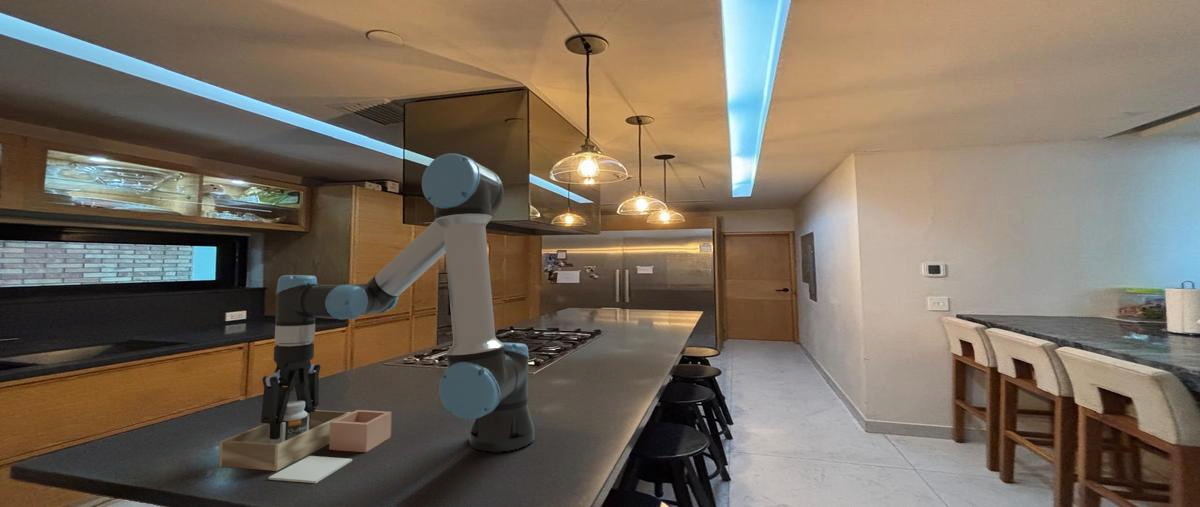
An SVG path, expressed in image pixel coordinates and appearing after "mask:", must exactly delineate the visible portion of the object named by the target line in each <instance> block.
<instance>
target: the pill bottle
mask: <svg viewBox="0 0 1200 507" xmlns="http://www.w3.org/2000/svg"><path fill="white" fill-rule="evenodd" d="M304 408H305V401H298V400H291V401H288V403H287V407H286V411H285V414H284V418H283V421H282V422H286V432H285V441H286V440H288V439H290V438H293V437H295V436H297V435H299V434H301V433H304V432H306V431H307V419H308V414H307V412H306V411H304Z"/></svg>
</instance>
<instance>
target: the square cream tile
mask: <svg viewBox="0 0 1200 507" xmlns="http://www.w3.org/2000/svg"><path fill="white" fill-rule="evenodd" d="M352 462H353V458H345V457H333V456H332V457H329V456H319V455H317V456H316V455H307V456H305V457H303V458H301V459H299V460H298V461H296V462H294V463H292V464H290V465H288V466H286V467H284V469H283V468H282V469H280V471H279V470H278V471H277V472H276V473H274V474H272V475H270V476H268V478H267V479H268V480H272V481H282V482H284V481H285V482H297V483H298V482H299V483H308V484H309V483H310V484H317V483H319V482H320V481H322V480H323V479H325V478H327V477H329V476H330V475H331V474H333V473H336V471H338V470H340V469H341V468H343V467H344V466H347V465H348V464H349V463H352Z"/></svg>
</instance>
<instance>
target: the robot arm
mask: <svg viewBox="0 0 1200 507" xmlns="http://www.w3.org/2000/svg"><path fill="white" fill-rule="evenodd" d="M421 178H422V179H421V190H422V193H423V196H424V197H425V198H426V200H427V201H428V202H429V204H431V205H432V206H433V210H434V211H433V212H434V221H432V222H431V223H430V225H428V226H427V227H426V228H425V229H424V230H423V231H422V232H420V234H419V235H418V236H417V237H415V238H414V239H413V240H412V241H411V242H410V243H409V244H408V245H406V247H405V248H403V249H402V250H401V251H400V252H399V253H398V254H396V256H395V257H394V258H392V260H391V261H389V262H388V263H387V264H386V265H385V266H384V267H383V268H382V269H380V271H379V272H378V273H376V275H374V276H373V277H372V278H371V279H370V280H369V281H367V282H366V283H353V284H352V283H351V284H348V283H347V284H319V283H318V278H317V277H316V275H310V274H309V275H306V274H304V275H303V274H302V275H301V274H300V275H299V274H295V275H294V274H293V275H292V274H289V275H288V274H287V275H285V274H284V275H281V276H280V277H278V280H277V286H276V292H275V323H274V324H275V328H274V343H275V346H274V347H273V362H274V363H275V364H276V368H275V370H274V373H273V374H271V375H265V376H263V377H262V385H263V394H262V395H263V396H262V405H261V415H260V418H261V419H260V422H261V424H266V423H268V424H270V439H271V444H279V443H281V442H284V441H285V432H286V422H282V421H283V418H284V414H285V411H286V407H287V403H288V402H289V400H290V396H291V392H292V391H295V395H296V401H305V408H304V411H306V412H307V414H308V419H307V431H308V430H309V425H310V416H311V412H314V411H315V410H317V409H316V407H318V406H319V403H320V401H319V400H320V398H319V394H320V393H319V388H320V387H319V383H320V382H319V376H320V372H321V371H320V370H321V364H313V363H311V360H313V359H314V356H315V344H314V342H313V341H315V338H316V318H321V319H333V320H335V319H337V320H341V321H344V320H354V319H355V320H356V319H358V318H360V317H361V316H362V315H363V316H364V315H372V314H381V313H385V312H389V311H392V309H394V308H395V307H396V306H397V303H398V302H399V298H400V295H401V294H402V293H403V292H405V291H406V290H407V289H408V288H409V287H411V285H412V284H413V283H414V282H416V281H417V280H418V279H419V278H421V276H422V275H423V274H425V272H427V271H428V270H429V269H430V268H431V267H432V266H433V265H434V264H436V263H437V262H438V261H439V260H440V259H441V258H442V257H444V255H445V260H446V262H445V263H446V272H447V282H448V283H447V284H448V295H449V307H450V318H451V329H452V332H451V333H452V341H453V342H452V344H451V346H450V347H449V349H448V350H447V351H446V363H447V364H446V365H447V368H446V370H445V371H444V372H443V374H442V376H441V377H440V380H439V384H438V395H439V397H440V400H441V403H442V404H443V406H444V407H445V409H446V410H448V412H450V413H451V414H453V415H454V416H455V417H457V418H460V419H464V420H473V422H472V425H471V428H470V430H469V439H468V440H469V443H470V444H469V446H470V447H471V446H472V447H471V448H473V447H474V448H473V449H475V448H476V449H475V450H477V449H479V450H478V451H480V450H483V451H482V452H485V451H491V452H490V453H502V452H501V451H507V452H510V451H509V450H513V451H515V450H514V449H517V450H519V449H518V448H521V447H523V446H526V445H528V444H530V443H531V442H532V441H533V440H534V441H535V426H534V422H533V419H532V416H531V413H530V410H529V406H528V404H529V403H528V402H529V400H528V399H529V398H528V397H529V360H530V355H529V347H528V345H526V343H521V342H501V341H500V340H499V339H498V338H497V337H496V330H495V318H494V317H495V315H494V307H493V295H492V294H493V292H492V285H491V275H490V274H491V273H490V261H489V253H488V252H489V251H488V241H487V240H488V239H487V230H486V227H487V225H488V224H489V222H490V221H491V220H492V217H494V215H496V213H497V211H499V209H500V207H501V205H502V204H503V200H504V196H505V195H504V194H505V191H504V185H503V182H502V180H501V179H500V177H499V175H498V174H497V173H495V172H494V171H493V170H492V169H490V168H488V167H486V166H483V165H481V164H480V163H478V162H476V161H475V160H474V159H473V158H471V157H469V156H466V155H462V154H459V153H454V152H452V153H449V152H448V153H443V154H442V155H439V156H437V157H436V158H435V159H433V160H431V162H430V164H429V165H428V166H426V168H425V170H424V172H423V175H422V177H421ZM534 441H533V442H534ZM533 442H532V443H533ZM532 443H531V444H532ZM531 444H530V445H531ZM528 446H529V445H528ZM526 447H527V446H526ZM521 449H522V448H521Z"/></svg>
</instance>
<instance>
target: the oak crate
mask: <svg viewBox="0 0 1200 507" xmlns="http://www.w3.org/2000/svg"><path fill="white" fill-rule="evenodd" d="M349 413H352V411H338V410H323V409H315V411H314V412H311V416H310V425H309V430H308V431H306V432H304V433H301V434H299V435H297V436H295V437H293V438H290V439H288V440H286V441H284V442H281V443H279V444H271V439H270V424H268V423H263V424H261V425H259V426H256V427H253V428H252V429H248V430H246V431H244V432H239V433H238V434H236V435H233V436H231V437H227V438H225V439H223V440H220V441H219V460H218V461H219V462H218V464H219V465H218V467H223V468H224V467H225V468H235V469H249V470H259V471H273V472H279V470H280V471H281V470H283V468H284V469H285V468H287V467H289V466H290V465H292V464H294V463H296V462H298V461H300V460H302V459H304V458H306V457H308V456H310V454H312V453H314V452H316V451H318V450H320V449H322V448H323V447H326V446H327V445H329V441H330V422H332V421H334V420H336V419H339V418H341V417H343V416H345V415H347V414H349Z"/></svg>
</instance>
